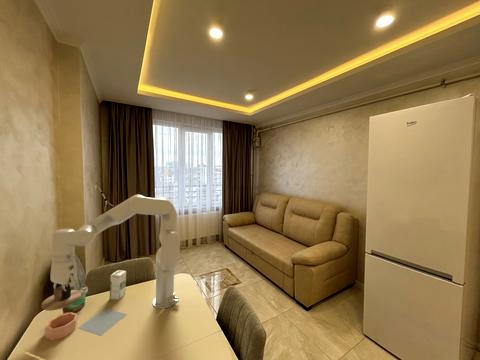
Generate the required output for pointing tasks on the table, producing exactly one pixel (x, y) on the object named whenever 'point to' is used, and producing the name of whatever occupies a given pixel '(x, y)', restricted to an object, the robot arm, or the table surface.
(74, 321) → the bowl
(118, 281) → the syrup box
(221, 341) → the table surface
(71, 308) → the food container
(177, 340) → the table surface
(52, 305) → the lid
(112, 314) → the mat
